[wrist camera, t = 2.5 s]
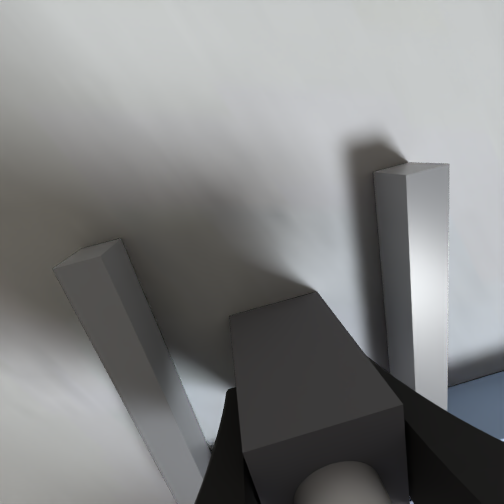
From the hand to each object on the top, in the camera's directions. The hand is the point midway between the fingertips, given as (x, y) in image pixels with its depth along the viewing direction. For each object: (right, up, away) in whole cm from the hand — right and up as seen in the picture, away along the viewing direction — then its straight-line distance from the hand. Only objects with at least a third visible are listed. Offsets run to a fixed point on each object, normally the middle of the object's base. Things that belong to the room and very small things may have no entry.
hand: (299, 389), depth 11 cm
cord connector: (0, +1, +2) cm, 2 cm away
